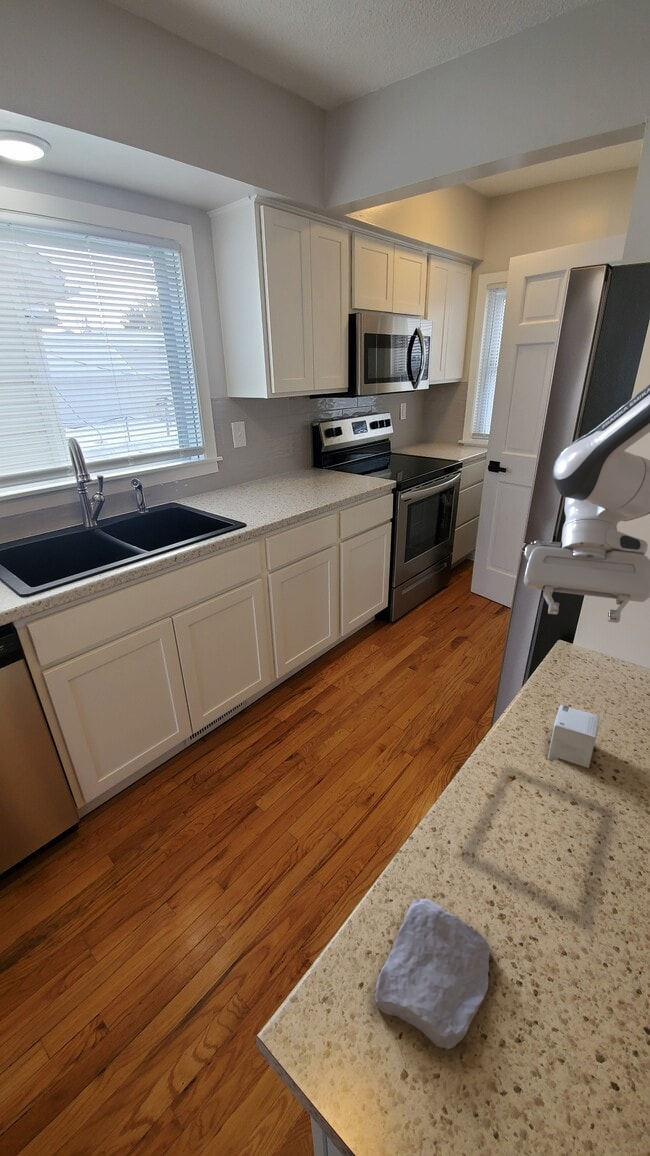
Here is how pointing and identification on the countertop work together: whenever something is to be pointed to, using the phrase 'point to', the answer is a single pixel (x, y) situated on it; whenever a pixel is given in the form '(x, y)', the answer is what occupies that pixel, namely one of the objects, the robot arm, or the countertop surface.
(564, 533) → the robot arm
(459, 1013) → the stone block
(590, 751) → the product carton
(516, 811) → the countertop surface
